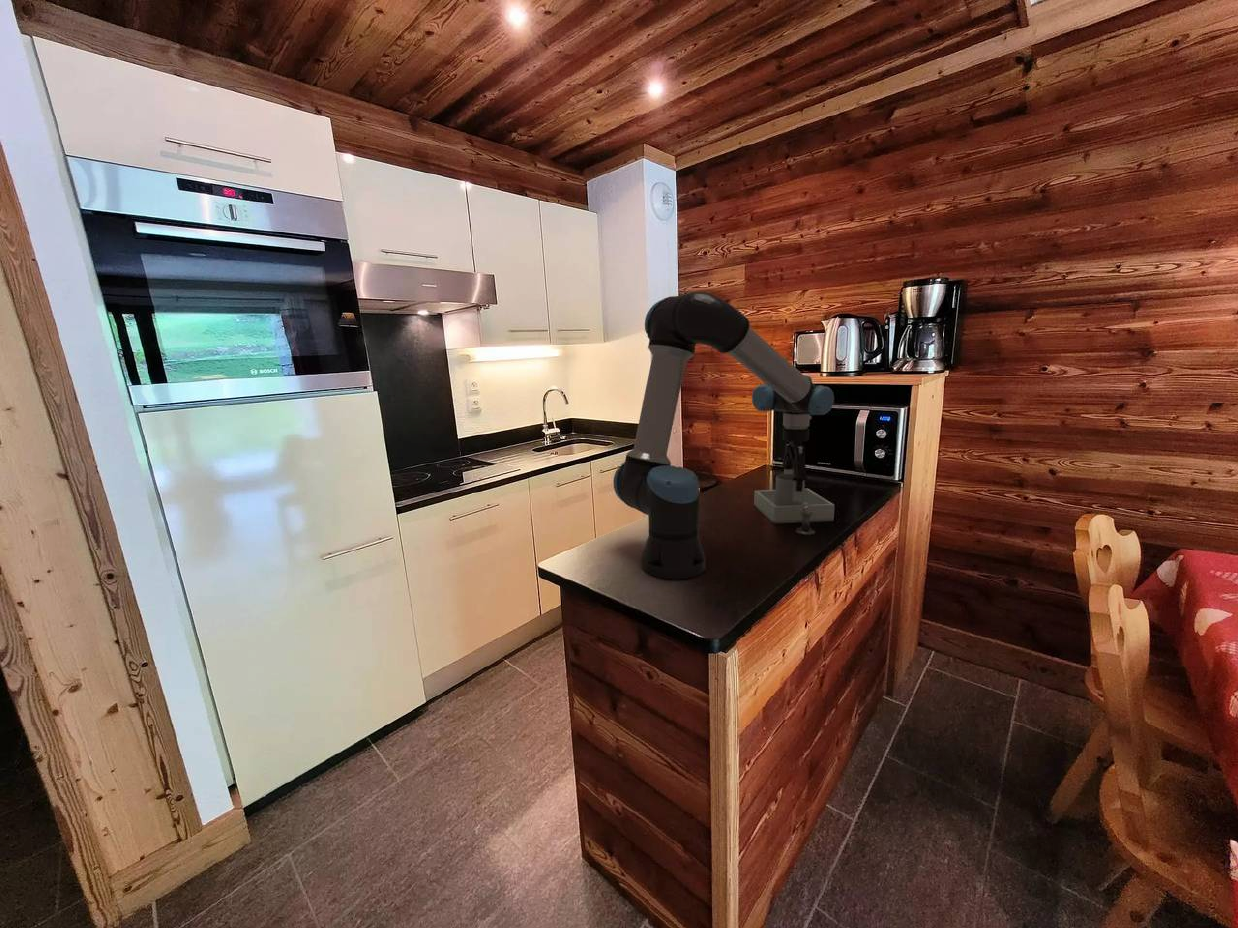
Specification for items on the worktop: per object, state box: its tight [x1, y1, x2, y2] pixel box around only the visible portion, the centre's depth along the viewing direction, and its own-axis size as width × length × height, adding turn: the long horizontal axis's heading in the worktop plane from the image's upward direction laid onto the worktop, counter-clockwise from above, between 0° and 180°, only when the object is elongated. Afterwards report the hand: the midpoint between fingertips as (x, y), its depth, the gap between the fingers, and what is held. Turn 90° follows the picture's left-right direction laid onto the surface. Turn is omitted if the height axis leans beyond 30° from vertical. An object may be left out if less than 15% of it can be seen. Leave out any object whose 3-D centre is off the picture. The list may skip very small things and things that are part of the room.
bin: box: [753, 488, 836, 524], centre depth 150 cm, size 18×18×5 cm
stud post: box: [795, 504, 816, 536], centre depth 133 cm, size 5×5×8 cm
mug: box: [774, 473, 806, 506], centre depth 150 cm, size 12×8×11 cm
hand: (792, 494), depth 149 cm, fingers open, 13 cm apart
